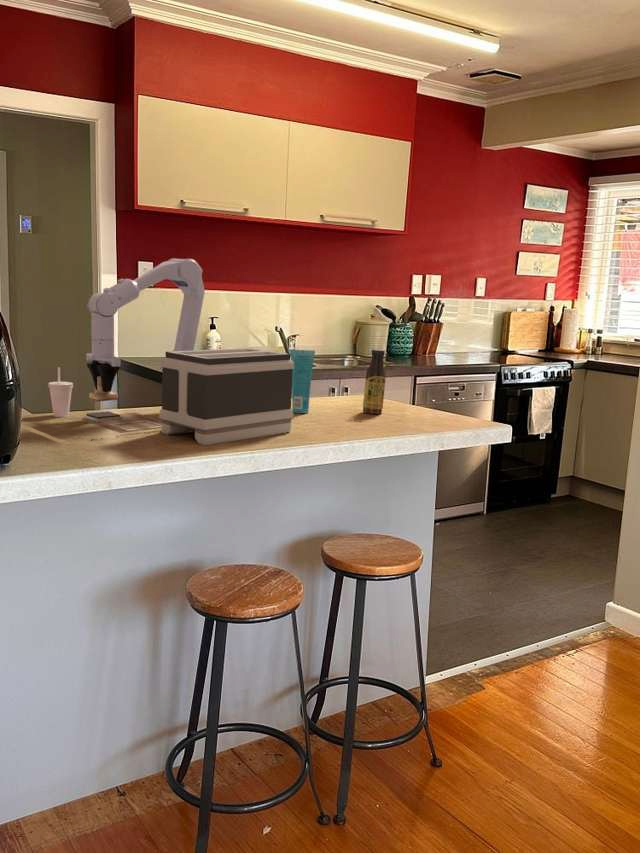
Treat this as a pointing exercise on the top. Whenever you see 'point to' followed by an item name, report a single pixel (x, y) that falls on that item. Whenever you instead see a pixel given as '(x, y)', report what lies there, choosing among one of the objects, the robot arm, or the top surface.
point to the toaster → (226, 394)
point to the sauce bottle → (375, 384)
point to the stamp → (102, 393)
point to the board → (130, 423)
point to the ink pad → (103, 417)
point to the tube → (301, 379)
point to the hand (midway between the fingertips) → (103, 390)
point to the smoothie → (60, 397)
